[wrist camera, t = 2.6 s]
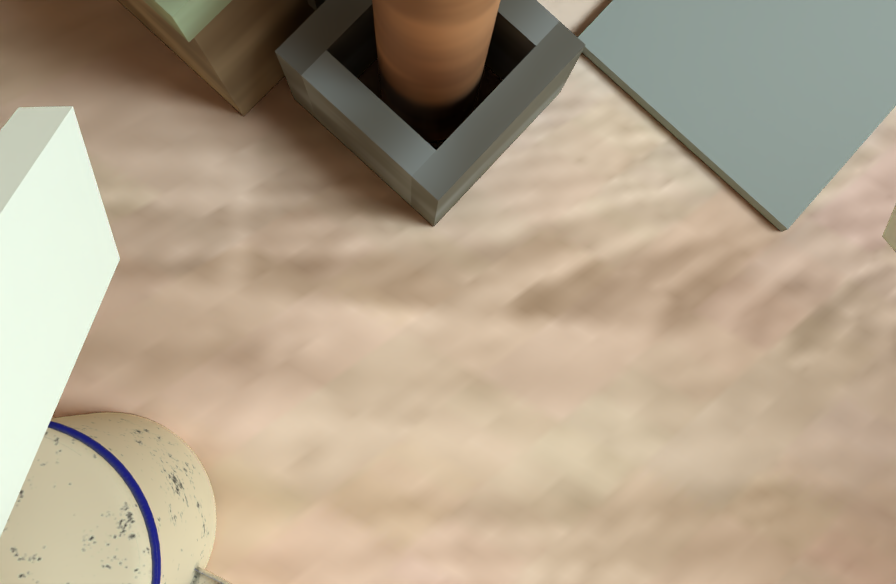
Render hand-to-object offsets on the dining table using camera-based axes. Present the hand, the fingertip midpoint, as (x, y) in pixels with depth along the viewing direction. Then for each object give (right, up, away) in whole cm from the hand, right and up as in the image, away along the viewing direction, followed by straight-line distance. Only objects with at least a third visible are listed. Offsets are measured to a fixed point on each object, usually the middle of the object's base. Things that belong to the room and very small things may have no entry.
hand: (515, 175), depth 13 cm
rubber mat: (+13, +9, +23) cm, 27 cm away
